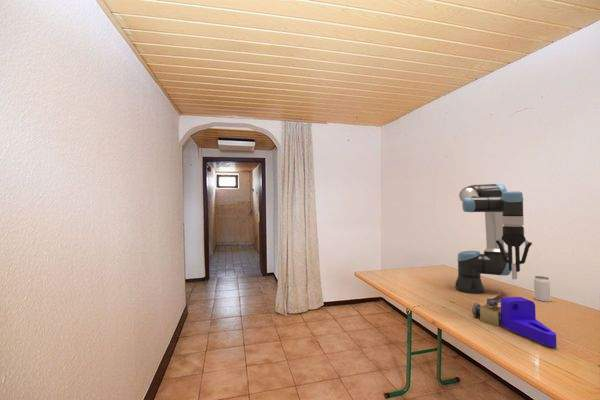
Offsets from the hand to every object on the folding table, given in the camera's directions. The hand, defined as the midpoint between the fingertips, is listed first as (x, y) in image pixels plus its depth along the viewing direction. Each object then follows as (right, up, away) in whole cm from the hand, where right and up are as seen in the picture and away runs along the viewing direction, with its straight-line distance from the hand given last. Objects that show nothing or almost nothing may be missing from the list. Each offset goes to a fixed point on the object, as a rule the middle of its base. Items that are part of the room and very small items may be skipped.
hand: (514, 278), depth 120 cm
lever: (-6, -11, +3) cm, 13 cm away
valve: (-10, -19, -1) cm, 21 cm away
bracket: (-5, -18, -14) cm, 24 cm away
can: (+35, -19, +25) cm, 47 cm away
